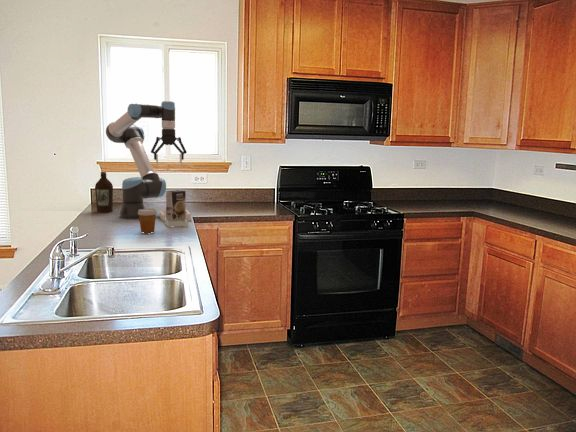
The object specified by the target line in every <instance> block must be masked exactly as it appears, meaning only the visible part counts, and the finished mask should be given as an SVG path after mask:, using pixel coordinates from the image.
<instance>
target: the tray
mask: <svg viewBox="0 0 576 432" xmlns="http://www.w3.org/2000/svg"><path fill="white" fill-rule="evenodd" d="M164 220H165V222H164V224H165V226H166V225H167V226H168V227H170V228H172V227H171V226H188V227H189V221H187V220H186V219H183V220H177V221H170V220H166V218H164ZM167 226H166V227H167ZM168 227H167V228H168Z"/></svg>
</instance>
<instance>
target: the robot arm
mask: <svg viewBox="0 0 576 432" xmlns="http://www.w3.org/2000/svg"><path fill="white" fill-rule="evenodd" d="M127 106H128V107H127V111H126V112H124V114H123V115H122V116H120V117H119V118H118V119H117V120H115V121H112V122H110V123H109V124H108V125H107V126H106V129H105V134H106V137H107V139H108V140H109V141H111V142H113V143H117V144H124V146H125V147H126V148H127V149H128V150H129V151H130V155H131V156H132V158H133V161H134V163H135V167H136V168H137V171H138V173H139V176H136V177H128V178H125V179H124V180H122V184H121V185H122V186H121V189H122V207H121V210H120V213H119V214H120V215H119V217H120V218H122V219H127V220H128V219H130V220H131V219H133V220H134V219H139V215H138V210H140V209H146V208H145V205H144V199H153V198H155V199H157V198H162V197H163V196H165V195H166V191H167V182H166V179H164V178H162V177H160V176H159V174H158V173H157V172H155V170H154V168H153V165H152V164H151V161H150V160H149V157H148V155H147V152H146V150H145V147H144V145H143V143H144V141H145V132H144V129H143V128H142V126H141V125H138V124H135V123H136V122H138V121H139V120H140V119H142V118H144V119H146V118H150V119H161V128H162V129H161V137H159V136H156V139H155V142H154V144H153V146H152V148H151V150H150V153H151V154H153V160H154V161H155V166H159V155H158V153H159V151H161V150H162V148H163V147H164V146H172V145H173V146H174V147H175V148H176V150H177V151H178V152H179V153H180V154H179V166H183V162H182V161H183V160H184V158H185V157H184V155H185V154H187V153H188V151H187V150H186V148H185V146H184V144H183V141H182V138H181V137H179V136H178V137H176V129H175V128H176V103H175V101H170V100H163V101H161V103H160V104H146V103H145V104H144V103H138V102H137V103H130V104H128V105H127ZM160 141H162V142H161V144H159V146H158V143H159V142H160ZM176 141H177V142H178V143H179V145H180V146H178V144H177V143H176ZM156 147H157V148H156ZM180 147H181V148H180Z"/></svg>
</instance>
